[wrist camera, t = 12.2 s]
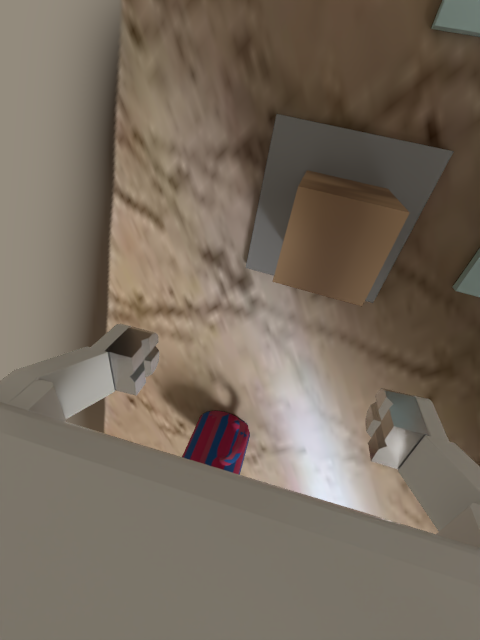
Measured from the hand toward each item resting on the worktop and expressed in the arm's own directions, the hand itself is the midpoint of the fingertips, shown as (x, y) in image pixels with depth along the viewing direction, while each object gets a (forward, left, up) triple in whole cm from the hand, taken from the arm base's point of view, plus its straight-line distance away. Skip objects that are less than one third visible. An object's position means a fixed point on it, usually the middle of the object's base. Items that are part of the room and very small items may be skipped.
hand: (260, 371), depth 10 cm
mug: (+1, +23, -14) cm, 27 cm away
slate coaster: (-2, -3, -14) cm, 14 cm away
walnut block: (-2, -3, -13) cm, 13 cm away
